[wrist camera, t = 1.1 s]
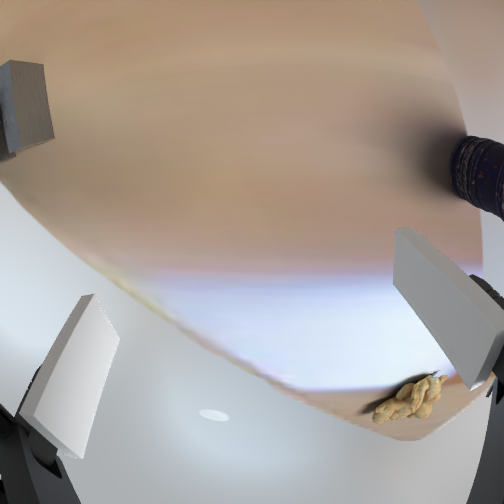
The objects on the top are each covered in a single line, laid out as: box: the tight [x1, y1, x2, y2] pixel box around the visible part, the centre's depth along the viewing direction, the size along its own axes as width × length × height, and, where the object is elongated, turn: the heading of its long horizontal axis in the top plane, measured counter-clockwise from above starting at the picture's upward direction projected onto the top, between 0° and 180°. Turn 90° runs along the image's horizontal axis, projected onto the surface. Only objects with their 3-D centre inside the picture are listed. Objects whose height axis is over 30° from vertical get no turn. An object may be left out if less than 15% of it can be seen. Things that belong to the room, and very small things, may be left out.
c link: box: [0, 60, 55, 164], centre depth 23 cm, size 10×9×7 cm
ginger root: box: [372, 375, 448, 425], centre depth 51 cm, size 16×16×8 cm
